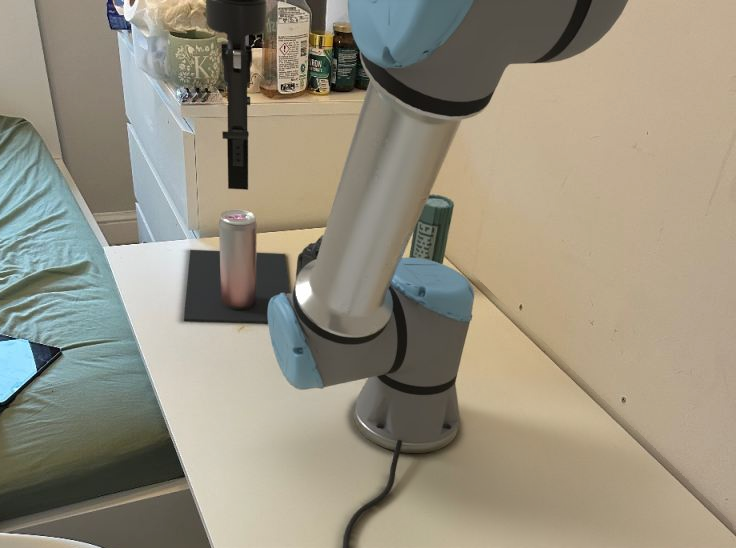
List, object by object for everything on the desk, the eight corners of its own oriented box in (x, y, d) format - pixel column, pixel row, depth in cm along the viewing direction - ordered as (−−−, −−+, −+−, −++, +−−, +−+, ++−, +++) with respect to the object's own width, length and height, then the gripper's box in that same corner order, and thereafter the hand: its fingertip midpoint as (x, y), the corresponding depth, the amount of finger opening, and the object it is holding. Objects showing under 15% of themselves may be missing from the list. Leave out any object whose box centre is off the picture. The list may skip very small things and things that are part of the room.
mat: (292, 324, 125) (292, 322, 124) (183, 320, 122) (183, 318, 122) (284, 255, 143) (284, 253, 143) (190, 251, 140) (190, 249, 140)
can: (442, 278, 143) (458, 200, 132) (431, 290, 138) (446, 210, 128) (414, 269, 144) (427, 191, 134) (401, 281, 140) (414, 201, 130)
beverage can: (218, 295, 128) (215, 209, 118) (252, 293, 130) (252, 208, 120) (224, 312, 124) (222, 224, 114) (259, 310, 126) (260, 223, 116)
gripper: (270, 17, 83) (267, 205, 98) (263, -22, 101) (261, 143, 116) (202, 10, 82) (209, 202, 97) (207, -27, 100) (212, 140, 114)
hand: (237, 170), depth 106 cm, fingers open, 13 cm apart
